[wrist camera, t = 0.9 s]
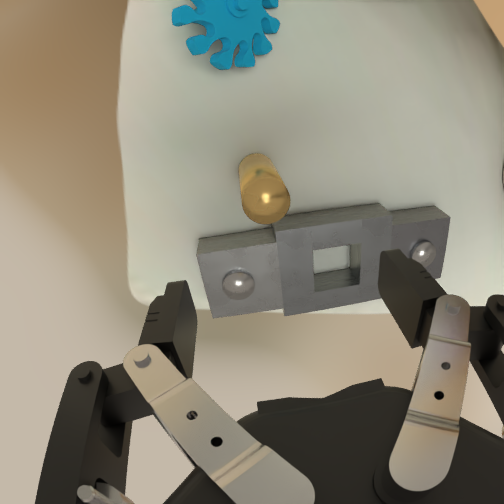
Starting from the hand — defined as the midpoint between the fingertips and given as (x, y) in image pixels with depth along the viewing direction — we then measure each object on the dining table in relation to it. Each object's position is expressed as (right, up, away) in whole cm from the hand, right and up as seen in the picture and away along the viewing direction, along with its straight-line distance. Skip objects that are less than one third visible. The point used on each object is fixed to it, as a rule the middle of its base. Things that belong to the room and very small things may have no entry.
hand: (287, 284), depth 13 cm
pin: (-1, +8, +14) cm, 16 cm away
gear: (-3, +20, +8) cm, 22 cm away
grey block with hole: (+6, +1, +18) cm, 19 cm away
